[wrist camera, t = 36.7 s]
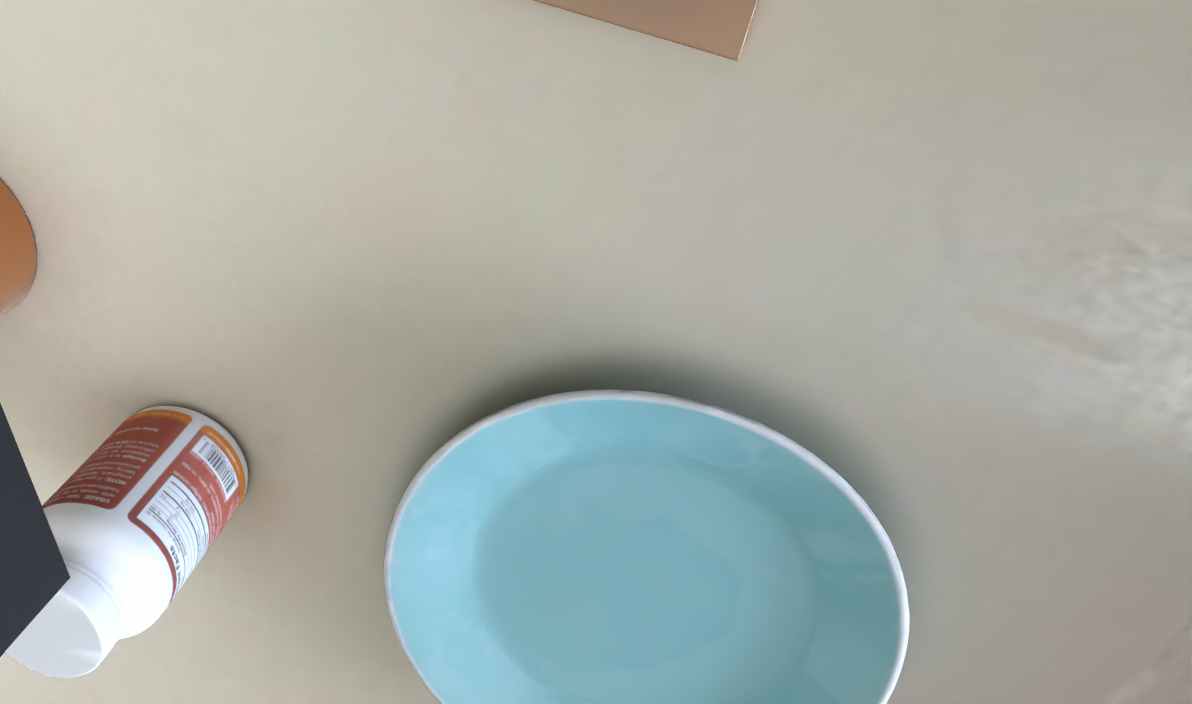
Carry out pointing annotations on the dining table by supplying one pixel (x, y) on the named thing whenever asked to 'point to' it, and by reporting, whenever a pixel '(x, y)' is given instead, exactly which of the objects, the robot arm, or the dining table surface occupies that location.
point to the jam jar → (14, 251)
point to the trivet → (676, 20)
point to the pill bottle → (132, 534)
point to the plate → (641, 562)
